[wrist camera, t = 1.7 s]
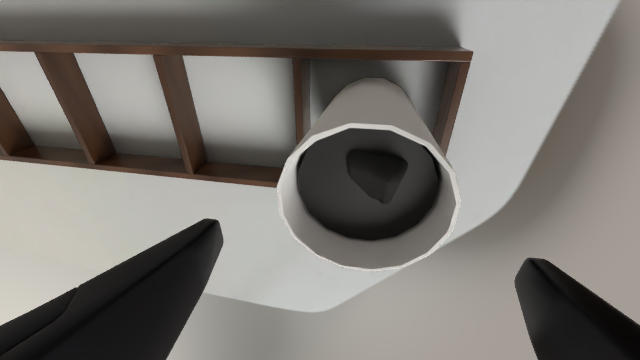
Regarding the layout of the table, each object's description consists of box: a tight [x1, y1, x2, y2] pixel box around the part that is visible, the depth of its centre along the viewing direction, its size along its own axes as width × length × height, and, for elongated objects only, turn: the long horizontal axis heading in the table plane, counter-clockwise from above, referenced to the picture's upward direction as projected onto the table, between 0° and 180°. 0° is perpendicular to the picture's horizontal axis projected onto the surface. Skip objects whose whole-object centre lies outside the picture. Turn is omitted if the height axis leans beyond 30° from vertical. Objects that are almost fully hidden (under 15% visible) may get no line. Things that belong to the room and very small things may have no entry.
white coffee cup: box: [277, 78, 461, 272], centre depth 14 cm, size 7×7×10 cm
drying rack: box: [0, 40, 473, 188], centre depth 21 cm, size 54×9×2 cm, turn 90°
